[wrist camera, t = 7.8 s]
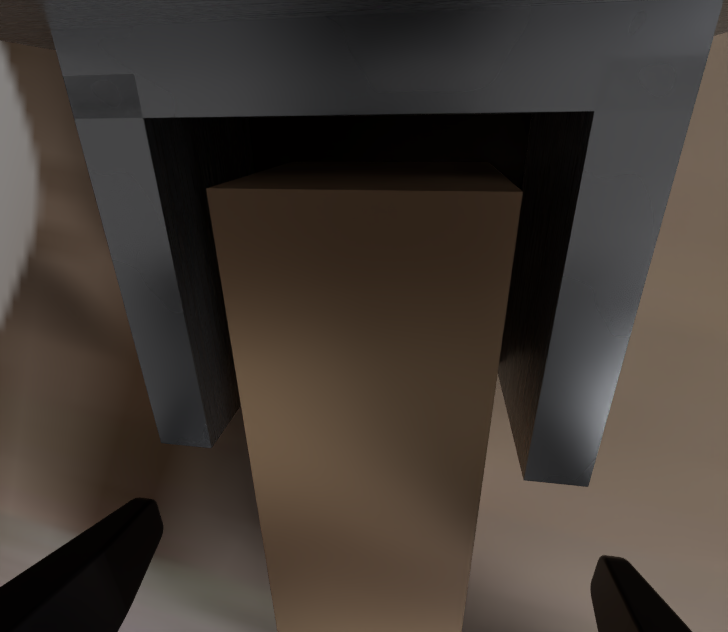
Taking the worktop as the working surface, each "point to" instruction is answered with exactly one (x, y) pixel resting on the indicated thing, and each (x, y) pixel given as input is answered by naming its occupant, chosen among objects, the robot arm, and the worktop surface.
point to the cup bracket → (387, 98)
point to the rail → (367, 378)
